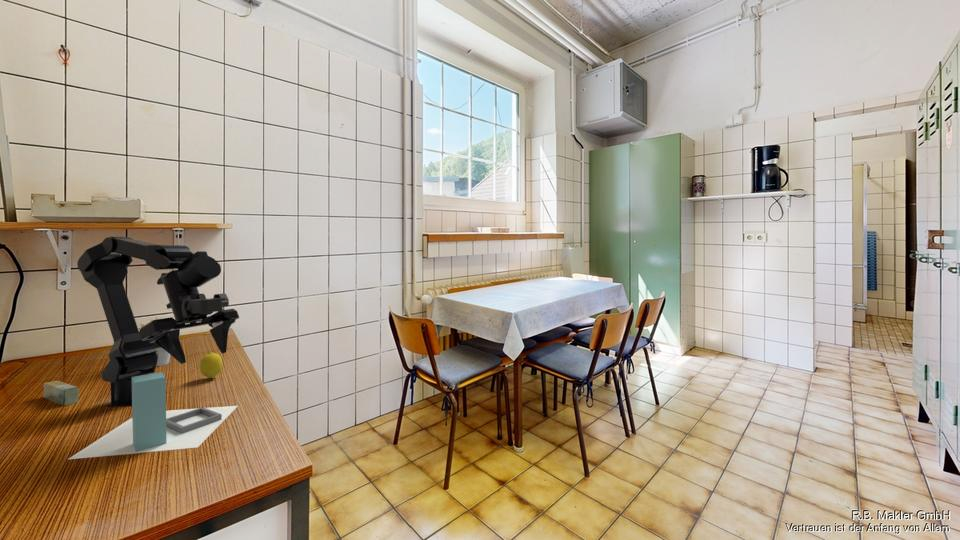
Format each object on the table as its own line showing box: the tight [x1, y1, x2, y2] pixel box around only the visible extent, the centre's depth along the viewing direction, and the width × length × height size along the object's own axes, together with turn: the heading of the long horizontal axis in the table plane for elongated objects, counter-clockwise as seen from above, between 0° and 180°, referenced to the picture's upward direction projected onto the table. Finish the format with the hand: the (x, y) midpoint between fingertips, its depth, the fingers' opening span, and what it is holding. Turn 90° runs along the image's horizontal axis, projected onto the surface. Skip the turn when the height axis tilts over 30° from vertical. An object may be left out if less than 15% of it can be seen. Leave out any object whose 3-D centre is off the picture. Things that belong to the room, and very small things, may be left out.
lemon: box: [199, 351, 224, 379], centre depth 112 cm, size 6×6×8 cm
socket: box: [166, 406, 222, 434], centre depth 81 cm, size 8×8×1 cm
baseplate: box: [67, 405, 238, 460], centre depth 79 cm, size 20×20×1 cm
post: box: [131, 371, 167, 452], centre depth 72 cm, size 4×4×13 cm
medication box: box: [43, 380, 79, 407], centre depth 95 cm, size 12×3×4 cm, turn 66°
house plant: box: [137, 316, 181, 367], centre depth 126 cm, size 14×14×16 cm
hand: (205, 357), depth 86 cm, fingers open, 9 cm apart
